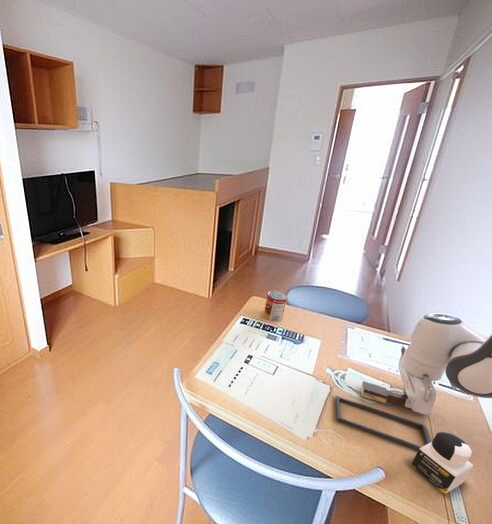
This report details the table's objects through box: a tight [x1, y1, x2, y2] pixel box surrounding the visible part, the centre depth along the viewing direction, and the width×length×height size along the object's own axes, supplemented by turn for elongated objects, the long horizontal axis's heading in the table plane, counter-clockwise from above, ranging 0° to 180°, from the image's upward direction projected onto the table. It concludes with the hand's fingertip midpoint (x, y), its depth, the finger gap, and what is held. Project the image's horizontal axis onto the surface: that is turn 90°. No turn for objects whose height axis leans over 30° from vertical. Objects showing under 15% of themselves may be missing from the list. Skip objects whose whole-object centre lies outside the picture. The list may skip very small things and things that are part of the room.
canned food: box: [263, 290, 288, 323], centre depth 136 cm, size 8×8×12 cm
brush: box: [360, 380, 414, 412], centre depth 93 cm, size 16×4×3 cm, turn 61°
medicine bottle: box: [410, 431, 474, 495], centre depth 72 cm, size 7×7×12 cm
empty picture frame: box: [335, 395, 431, 452], centre depth 86 cm, size 21×9×2 cm, turn 61°
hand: (406, 401), depth 91 cm, fingers closed on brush, 2 cm apart
